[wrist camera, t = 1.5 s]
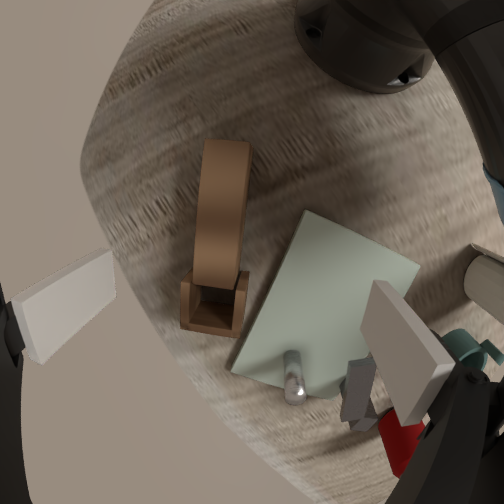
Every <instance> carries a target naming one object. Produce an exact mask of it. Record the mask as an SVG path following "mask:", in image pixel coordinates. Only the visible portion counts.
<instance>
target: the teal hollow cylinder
mask: <svg viewBox="0 0 504 504" xmlns="http://www.w3.org/2000/svg"><path fill="white" fill-rule="evenodd" d="M442 339H443V340H444V342H445V344H447V345H448V347H449V348H450V350H452V352H453V353H454V354H455V355H456V357H457V358H458V359H459V360H460V362H461V363H462V364H463V366H464V367H474V368H477V369H479V370H481V371H483V370H484V367H485V365H486V362H487V358H488V354H489V355H490V356H491V357H492V358H493V359H494V360H495V361H496V363H497V364H498V365H499V366H500V365H501V364H502V363H503V361H504V355H503V354H502V353H501V352H500V351H499V350H498V349H497V348H496V347H495V346H494V345H493V344H492V343H491V342H490V341H489V340H488V339H486V340H485V341H484V342H482V343H481V344H479V343H478V342H477V341H476V340H475V339H474V338H473V337H472V336H471V335H470V334H469V333H468V332H466V331H465V330H464V329H456V330H453V331H451V332H449V333H448V334H446V335H445V336H444V337H442ZM487 353H488V354H487Z"/></svg>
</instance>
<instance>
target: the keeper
mask: <svg viewBox="0 0 504 504" xmlns="http://www.w3.org/2000/svg"><path fill="white" fill-rule="evenodd" d="M375 371H376V363H375V361H374V359H373V357H370V358H364V359H357V360H350V361H348V367H347V374H346V377H345V379H344V380H343V381H342V383H341V384H340V385H339V388H340V392H341V395H342V399H343V400H342V406H341V412H340V418H341V422H346V421H348V422H349V426H350V430H356V431H365V432H366V431H368V430H369V429H370V428H371V427H372V426H373V425H374V423H375V422H376V421H377V420H378V417H377V414H376V412H375V409H374V406H373V403H372V401H371V398H370V393H371V389H372V385H373V381H374V376H375Z"/></svg>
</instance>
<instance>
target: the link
mask: <svg viewBox="0 0 504 504" xmlns="http://www.w3.org/2000/svg"><path fill="white" fill-rule="evenodd" d="M253 150H254V148H253V147H252V145H251V143H250V142H244V141H234V140H221V139H206V138H205V141H204V149H203V158H202V166H201V176H200V186H199V196H198V207H197V219H196V232H195V247H194V264H193V268H192V269H191V270H190V271H189V273H188V274H187V275H186V276H185V277H184V279H183V280H182V281H181V299H180V329H184V330H189V331H195V332H200V333H206V334H212V335H218V336H224V337H231V338H238V339H240V335H241V329H242V324H243V319H244V313H245V305H246V297H247V289H248V281H249V273H250V272H249V271H242V272H241V275H240V278H239V282H238V285H237V288H236V294H235V304H234V305H229V304H222V303H216V302H209V301H203V300H201V290H202V285H203V286H210V287H217V288H223V289H230V290H233V288H234V285H235V282H236V279H237V276H238V273H239V269H240V260H241V251H242V242H243V233H244V225H245V216H246V208H247V199H248V191H249V182H250V174H251V166H252V158H253Z"/></svg>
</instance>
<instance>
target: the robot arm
mask: <svg viewBox="0 0 504 504" xmlns="http://www.w3.org/2000/svg"><path fill="white" fill-rule="evenodd" d="M294 26H295V31H296V35H297V37H298V40H299V42H300V44H301V46H302V47H303V49H304V50H305V52H306V53H307V54H308V56H309V57H310V58H311V59H312V60H313V61H314V62H315V63H316V64H317V65H318V66H319V67H320V68H321V69H323V70H324V71H325V72H327V73H328V74H329V75H331V76H332V77H334V78H336V79H337V80H339V81H341V82H343V83H345V84H347V85H349V86H352V87H354V88H357V89H360V90H364V91H368V92H373V93H395V92H400V91H403V90H405V89H407V88H409V87H411V86H412V85H414V84H416V83H417V82H419V81H420V80H421V79H423V78H424V76H425V75H426V74H427V73H428V71H429V69H430V68H431V65H432V63H433V61H434V59H436V61H437V62H438V64H439V66H440V67H441V69H442V71H443V73H444V74H445V76H446V78H447V80H448V81H449V83H450V85H451V87H452V89H453V91H454V93H455V95H456V97H457V99H458V101H459V103H460V105H461V107H462V109H463V111H464V113H465V115H466V118H467V120H468V122H469V125H470V127H471V129H472V132H473V134H474V137H475V139H476V142H477V145H478V148H479V150H480V153H481V156H482V159H483V171H484V174H485V176H486V178H487V180H488V181H489V182H490V185H491V188H492V192H493V195H494V198H495V202H496V205H497V209H498V213H499V216H500V219H501V221H502V223H503V225H504V0H298V2H297V5H296V11H295V18H294ZM115 298H116V288H115V279H114V268H113V254H112V249H105V248H100V249H98V250H96V251H94V252H92V253H90V254H88V255H86V256H84V257H82V258H81V259H79V260H77V261H75V262H73V263H71V264H69V265H67V266H66V267H64V268H62V269H60V270H58V271H56V272H55V273H53V274H51V275H49V276H47V277H46V278H44V279H42V280H40V281H39V282H37V283H35V284H33V285H32V286H30V287H28V288H27V289H25V290H23V291H22V292H20V293H18V294H17V295H15V296H13V297H12V298H11V301H10V302H8V303H7V304H6V303H5V300H4V296H3V292H2V288H1V283H0V504H32V502H31V499H30V496H29V491H28V486H27V480H26V474H25V468H24V460H23V450H22V438H21V384H22V371H23V355H22V352H21V351H22V350H23V349H24V348H25V347H26V349H27V352H28V355H29V358H30V359H31V360H32V361H34V362H36V363H38V364H40V365H43V364H44V363H45V362H46V361H47V360H48V359H49V358H50V357H51V356H52V355H53V354H54V353H55V352H56V351H57V350H59V349H60V347H62V346H63V345H64V344H65V343H66V342H67V341H68V340H69V339H70V338H71V337H72V336H73V335H75V334H76V333H77V332H78V331H79V330H80V329H81V328H82V327H83V326H84V325H86V324H87V323H88V322H89V321H90V320H91V319H92V318H93V317H94V316H96V315H97V314H98V313H99V312H100V311H101V310H102V309H104V308H105V307H106V306H107V305H108V304H109V303H110V302H112V301H113V300H114V299H115ZM360 330H361V332H362V335H363V337H364V339H365V341H366V343H367V345H368V348H369V350H370V352H371V354H372V356H373V359H374V361H375V363H376V366H377V368H378V370H379V372H380V375H381V377H382V379H383V382H384V384H385V387H386V389H387V391H388V394H389V396H390V399H391V401H392V404H393V406H394V409H395V411H396V414H397V416H398V419H399V422H400V424H401V427H402V426H408V425H415V424H419V423H420V422H421V420H422V419H423V417H424V416H425V414H426V413H428V415H429V417H430V419H431V420H430V421H429V422H428V424H427V425H426V427H425V428H424V429H423V431H422V432H421V433H420V435H419V436H418V437H417V438H416V439H417V440H419V439H420V441H419V443H418V445H417V447H416V449H415V451H414V453H413V455H412V457H411V459H410V461H409V463H408V465H407V467H406V469H405V471H404V472H403V474H402V476H401V478H400V480H399V481H398V483H397V485H396V486H395V488H394V490H393V491H392V493H391V495H390V496H389V498H388V499H387V501H386V503H385V504H504V432H503V433H502V434H501V435H499V429H500V428H501V427H502V426H503V425H504V377H503V378H502V380H501V382H500V383H498V382H490V379H489V378H488V376H487V375H486V374H485V373H484V372H483V371H481V370H479V369H477V368H474V367H464V366H463V364H462V363H461V362H460V360H459V359H458V358H457V357H456V355H455V354H454V353H453V352H452V350H450V348H449V347H448V345H447V344H445V342H444V340H443V339H442V338H441V337H440V336H439V335H438V334H437V333H435V332H434V331H433V330H431V329H429V328H428V327H427V326H426V325H425V324H424V322H423V321H422V320H421V319H420V318H419V317H418V315H417V314H416V313H415V312H414V311H413V309H412V308H411V307H410V306H409V305H408V304H407V303H406V301H405V300H404V299H403V298H402V297H401V296H400V295H399V294H398V292H397V291H396V290H395V289H394V288H393V287H392V286H391V285H390V284H389V282H388V281H384V280H373V283H372V287H371V291H370V294H369V298H368V302H367V306H366V309H365V313H364V316H363V320H362V323H361V326H360Z"/></svg>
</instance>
